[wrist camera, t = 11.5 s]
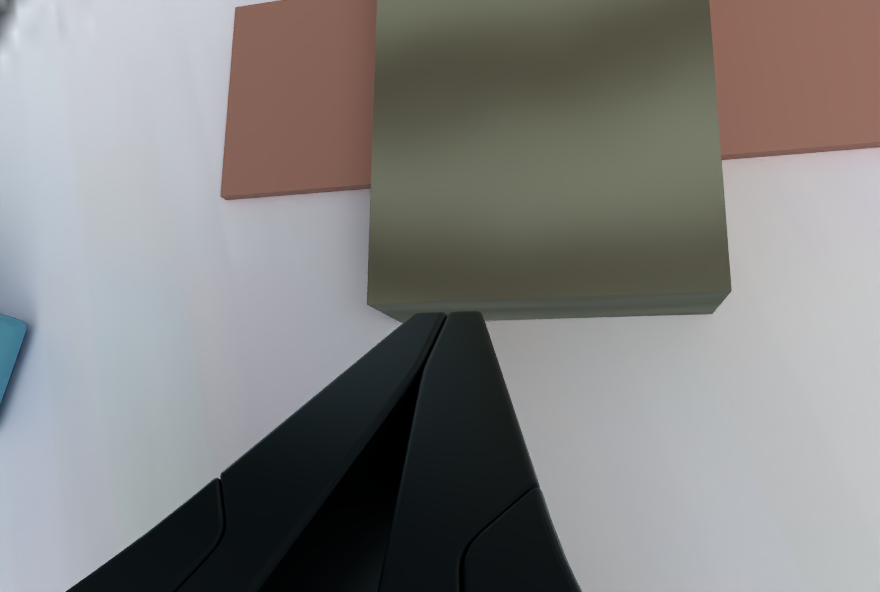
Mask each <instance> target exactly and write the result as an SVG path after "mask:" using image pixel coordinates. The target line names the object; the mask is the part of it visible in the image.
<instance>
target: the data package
mask: <svg viewBox="0 0 880 592" xmlns="http://www.w3.org/2000/svg"><path fill="white" fill-rule="evenodd" d="M26 330H27V326H26V324H25V323H24V322H23V321H21V320H18V319H15V318H12V317H9V316H6V315H2V314H0V404H1V401H2V398H3V395H4V392H5V389H6V387H7V384H8V381H9V378H10V375H11V372H12V370H13V367H14V364H15V361H16V358H17V355H18V352H19V350H20V347H21V344H22V341H23V338H24V335H25V333H26Z"/></svg>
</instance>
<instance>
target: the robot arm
mask: <svg viewBox="0 0 880 592" xmlns="http://www.w3.org/2000/svg"><path fill="white" fill-rule="evenodd" d="M220 479H221V480H220ZM220 479H219V478H215V479H213V480H212V481H211V482H210V483H208V484H207V485H206V486H205V487H204V488H202V489H201V490H200V491H199V492H198V493H196V494H195V495H194V496H193V497H191V498H190V499H189V500H188V501H186V502H185V503H184V504H183V505H181V506H180V507H179V508H178V509H176V510H175V511H174V512H173V513H171V514H170V515H169V516H168V517H166V518H165V519H164V520H162V521H161V522H160V523H159V524H157V525H156V526H155V527H154V528H152V529H151V530H150V531H149V532H147V533H146V534H145V535H143V536H142V537H141V538H139V539H138V540H136V541H135V542H134V543H132V544H131V545H130V546H128V547H127V548H126V549H124V550H123V551H121V552H120V553H119V554H117V555H116V556H115V557H113V558H112V559H111V560H109V561H108V562H107V563H105V564H104V565H102V566H101V567H100V568H98V569H97V570H96V571H94V572H93V573H91V574H90V575H89V576H87V577H86V578H84V579H83V580H81V581H80V582H79V583H77V584H76V585H74V586H73V587H72V588H70V589H69V590H67V591H66V592H582V591H581V589H580V587H579V585H578V583H577V581H576V578H575V576H574V574H573V572H572V570H571V568H570V566H569V564H568V561H567V559H566V557H565V554H564V552H563V549H562V546H561V544H560V541H559V539H558V536H557V533H556V531H555V528H554V526H553V523H552V520H551V518H550V514H549V511H548V508H547V505H546V502H545V499H544V496H543V493H542V491H541V490H540V486H539V483H538V480H537V477H536V474H535V471H534V468H533V465H532V462H531V459H530V456H529V453H528V450H527V447H526V444H525V441H524V438H523V435H522V432H521V429H520V426H519V423H518V420H517V417H516V414H515V411H514V408H513V405H512V402H511V399H510V396H509V393H508V390H507V387H506V384H505V381H504V378H503V375H502V372H501V369H500V366H499V363H498V360H497V357H496V354H495V351H494V348H493V345H492V342H491V339H490V336H489V333H488V330H487V327H486V324H485V321H484V318H483V315H482V313H481V312H479V311H457V312H451V313H449V314H448V315H447V314H446V313H445V312H427V313H416V314H414V315H413V316H411V317H410V318H409V319H408V320H407V321H405V322H404V323H403V324H402V325H400V326H399V327H398V328H397V329H396V330H394V331H393V332H392V333H391V334H390V335H388V336H387V337H386V338H385V339H383V340H382V341H381V342H380V343H379V344H377V345H376V346H375V347H374V348H373V349H371V350H370V351H369V352H368V353H366V354H365V355H364V356H363V357H362V358H360V359H359V360H358V361H357V362H356V363H354V364H353V365H352V366H351V367H349V368H348V369H347V370H346V371H345V372H343V373H342V374H341V375H340V376H339V377H337V378H336V379H335V380H334V381H333V382H331V383H330V384H329V385H328V386H326V387H325V388H324V389H323V390H322V391H320V392H319V393H318V394H317V395H316V396H314V397H313V398H312V399H311V400H309V401H308V402H307V403H306V404H305V405H303V406H302V407H301V408H300V409H299V410H297V411H296V412H295V413H294V414H292V415H291V416H290V417H289V418H288V419H286V420H285V421H284V422H283V423H282V424H280V425H279V426H278V427H277V428H275V429H274V430H273V431H272V432H271V433H269V434H268V435H267V436H266V437H265V438H263V439H262V440H261V441H260V442H259V443H257V444H256V445H255V446H254V447H252V448H251V449H250V450H249V451H248V452H246V453H245V454H244V455H243V456H242V457H240V458H239V459H238V460H237V461H235V462H234V463H233V464H232V465H231V466H229V467H228V468H227V469H226V470H224V471H223V472H222V473H221V475H220Z"/></svg>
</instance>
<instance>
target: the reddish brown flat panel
mask: <svg viewBox="0 0 880 592" xmlns="http://www.w3.org/2000/svg"><path fill="white" fill-rule="evenodd" d="M709 4H710V17H711V30H712V43H713V56H714V69H715V82H716V96H717V109H718V122H719V135H720V148H721V160H725V159H737V158H749V157H762V156H774V155H786V154H799V153H811V152H823V151H836V150H848V149H861V148H873V147H880V0H709ZM376 18H377V0H280V1H274V2H267V3H261V4H255V5H248V6H242V7H236V8H235V21H234V33H233V46H232V59H231V71H230V84H229V96H228V109H227V122H226V134H225V147H224V159H223V172H222V185H221V197H222V198H224V199H226V200H230V199H243V198H255V197H267V196H280V195H292V194H304V193H317V192H329V191H342V190H354V189H366V188H371V170H372V139H373V109H374V79H375V48H376Z"/></svg>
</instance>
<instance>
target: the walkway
mask: <svg viewBox="0 0 880 592" xmlns="http://www.w3.org/2000/svg"><path fill="white" fill-rule="evenodd" d="M730 292H731V279H730V266H729V253H728V239H727V226H726V213H725V200H724V187H723V174H722V161H721V148H720V135H719V122H718V109H717V96H716V82H715V69H714V56H713V43H712V30H711V17H710V4H709V0H377V18H376V48H375V79H374V109H373V139H372V170H371V200H370V231H369V261H368V291H367V305H369V306H371V307H373V308H375V309H377V310H379V311H381V312H382V313H384V314H386V315H388V316H390V317H392V318H394V319H396V320H398V321H400V322H402V323H404V322H405V321H407V320H408V319H409V318H410V317H411V316H413V315H414V314H416V313H427V312H445V313H446V314H447V315H448V314H449V313H451V312H457V311H479V312H481V313H482V315H483V318H484V321H485V320H519V319H553V318H587V317H621V316H655V315H689V314H713V312H714V311H715V310H716V309H717V308H718V306H719V305H720V304H721V303H722V302H723V300H724V299H725V298H726V297H727V296H728V294H729V293H730Z"/></svg>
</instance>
